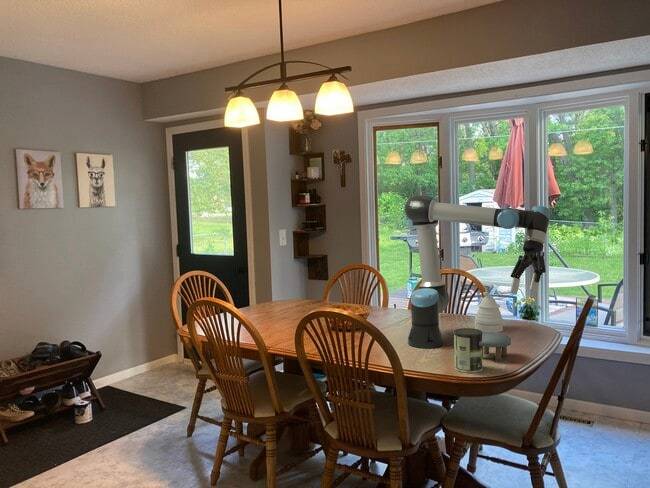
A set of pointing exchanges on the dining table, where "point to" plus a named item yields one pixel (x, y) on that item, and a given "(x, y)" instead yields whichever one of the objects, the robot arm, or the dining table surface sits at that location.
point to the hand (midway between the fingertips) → (523, 292)
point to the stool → (496, 344)
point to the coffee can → (468, 350)
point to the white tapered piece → (489, 315)
